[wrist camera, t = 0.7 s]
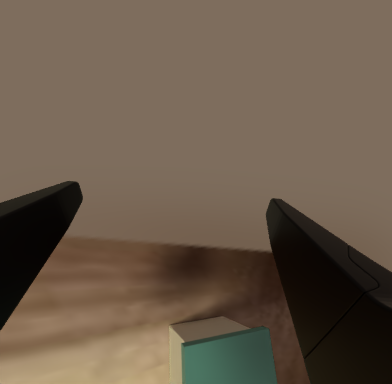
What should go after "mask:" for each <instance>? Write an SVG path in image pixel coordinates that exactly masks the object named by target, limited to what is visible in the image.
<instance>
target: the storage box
mask: <svg viewBox="0 0 392 384" xmlns="http://www.w3.org/2000/svg"><path fill="white" fill-rule="evenodd" d="M246 329H251V328H248V327H246V326H244V325H242V324H239V323H237V322H235V321H233V320H230V319H228V318H226V317H224V316H221V317H215V318H209V319H203V320H197V321H191V322H186V323H180V324H174V325H169V365H170V384H182V359H181V343H184V342H189V341H193V340H198V339H203V338H208V337H213V336H218V335H222V334H227V333H232V332H237V331H242V330H246Z"/></svg>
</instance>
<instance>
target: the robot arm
mask: <svg viewBox="0 0 392 384" xmlns="http://www.w3.org/2000/svg"><path fill="white" fill-rule="evenodd" d="M82 200H83V196H82V192H81V189H80V186H79V183H78V182H74V181H67V182H63V183H60V184H57V185H54V186H51V187H48V188H45V189H42V190H39V191H36V192H32V193H29V194H26V195H23V196H20V197H17V198H14V199H11V200H8V201H5V202H2V203H0V330H1V329H2V328H3V326H4V325H5V323H6V322H7V320H8V319H9V317H10V316H11V314H12V313H13V311H14V310H15V308H16V307H17V305H18V304H19V302H20V301H21V299H22V298H23V296H24V295H25V293H26V292H27V290H28V288H29V287H30V285H31V284H32V282H33V281H34V279H35V278H36V276H37V275H38V273H39V272H40V270H41V269H42V267H43V266H44V264H45V263H46V261H47V260H48V258H49V257H50V255H51V254H52V252H53V251H54V249H55V248H56V246H57V245H58V243H59V242H60V240H61V239H62V237H63V236H64V234H65V233H66V231H67V229H68V228H69V226H70V224H71V222H72V220H73V218H74V216H75V214H76V212H77V211H78V209H79V207H80V205H81V203H82ZM266 220H267V226H268V232H269V239H270V244H271V248H272V252H273V255H274V259H275V262H276V266H277V269H278V273H279V276H280V279H281V283H282V286H283V290H284V293H285V297H286V300H287V303H288V307H289V310H290V314H291V317H292V321H293V324H294V327H295V331H296V334H297V338H298V341H299V345H300V348H301V351H302V355H303V358H304V359H305V360H304V362H305V366H306V369H307V373H308V376H309V379H310V383H311V384H392V272H391V271H389V270H387V269H386V268H384V267H382V266H381V265H379V264H377V263H376V262H374V261H373V260H371V259H370V258H368V257H367V256H365V255H363V254H362V253H360V252H359V251H357V250H356V249H354V248H353V247H351V246H350V245H348V244H347V243H345V242H344V241H342V240H341V239H340V238H338V237H336V236H335V235H334V234H332V233H330V232H329V231H328V230H326V229H324V228H323V227H322V226H320V225H319V224H317V223H316V222H314V221H313V220H311V219H310V218H308V217H306V216H305V215H304V214H302V213H301V212H299V211H298V210H296V209H295V208H293V207H292V206H290V205H289V204H287V203H286V202H284V201H283V200H282V199H275V198H273V199H271V200H270V203H269V206H268V209H267V212H266Z"/></svg>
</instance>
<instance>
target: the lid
mask: <svg viewBox="0 0 392 384" xmlns="http://www.w3.org/2000/svg"><path fill="white" fill-rule="evenodd" d="M181 359H182V384H277V378H276V372H275V365H274V358H273V352H272V345H271V338H270V332H269V328H266V327H264V326H261V327H256V328H251V329H246V330H242V331H237V332H232V333H227V334H222V335H218V336H213V337H208V338H203V339H198V340H193V341H189V342H184V343H181Z"/></svg>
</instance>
